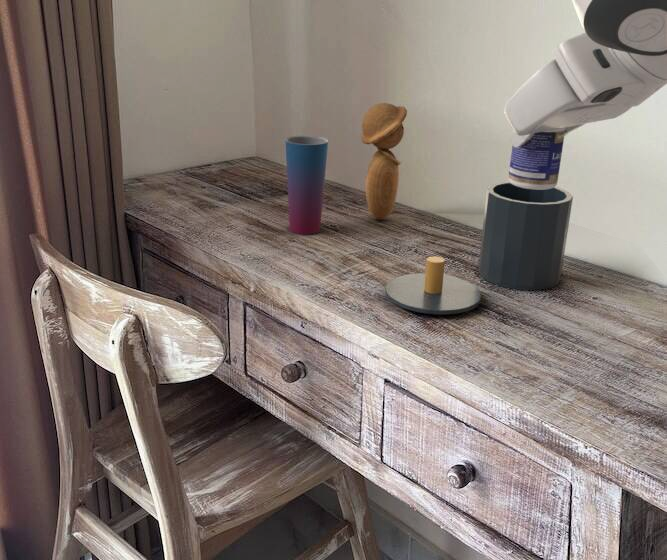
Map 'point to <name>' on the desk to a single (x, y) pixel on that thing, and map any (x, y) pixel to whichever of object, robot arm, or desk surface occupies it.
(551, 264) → the can
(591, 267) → the desk surface
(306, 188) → the cup
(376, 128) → the figurine
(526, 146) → the pill bottle
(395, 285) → the can lid
